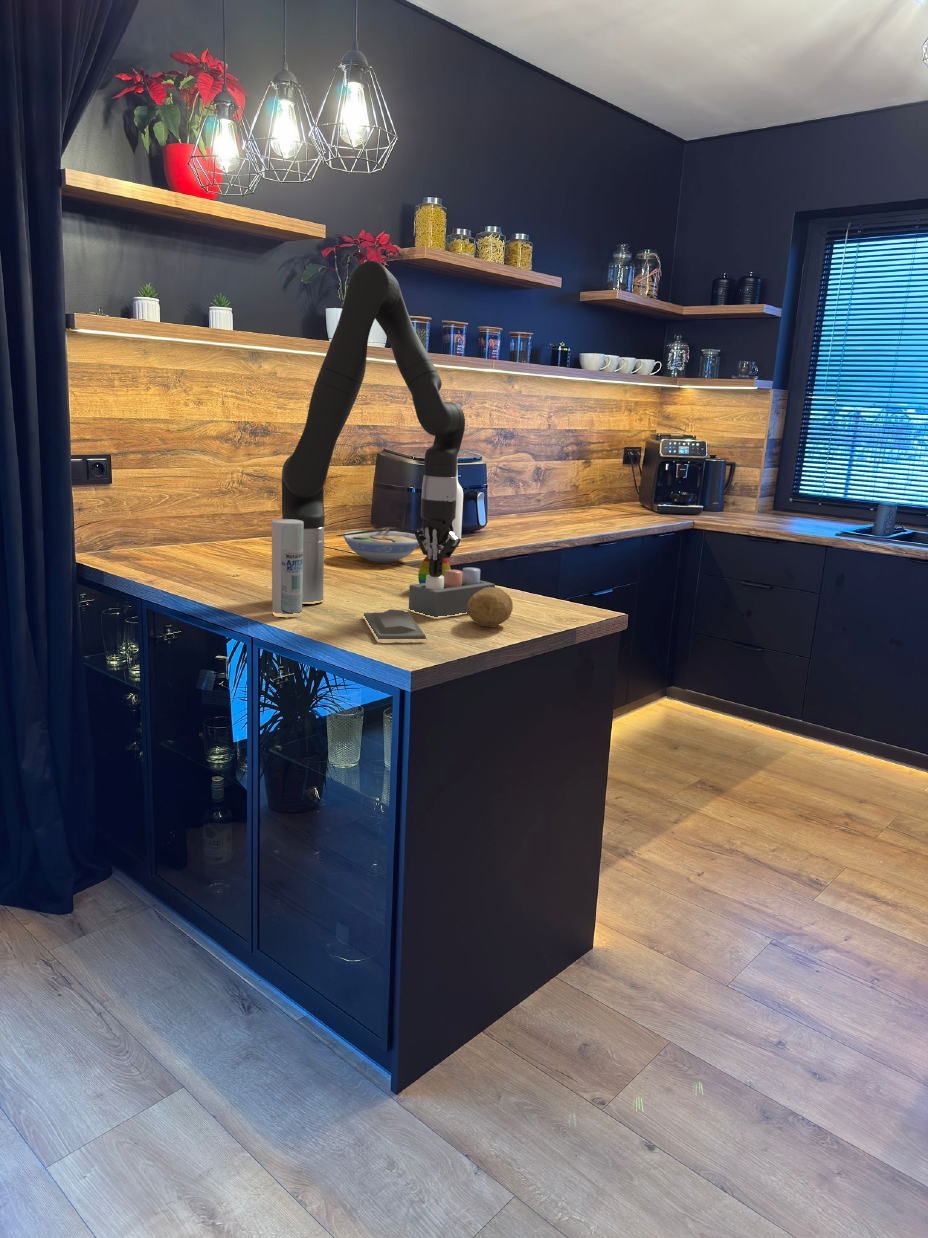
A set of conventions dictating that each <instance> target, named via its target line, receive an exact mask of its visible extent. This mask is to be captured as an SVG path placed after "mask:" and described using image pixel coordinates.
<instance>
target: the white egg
mask: <svg viewBox="0 0 928 1238" xmlns="http://www.w3.org/2000/svg"><path fill="white" fill-rule="evenodd" d="M426 588H428V589H432V590H438V589H444V576H442V575H441V576H440V577H433V576H430V575H426Z"/></svg>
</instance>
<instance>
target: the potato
mask: <svg viewBox="0 0 928 1238" xmlns="http://www.w3.org/2000/svg"><path fill="white" fill-rule="evenodd" d="M513 605H514V604H513V600H512V597H511V596H510V595H509V594H508V592H506V591H504V590H503V589H502V588H499V587H496V586H495V587H487V588H484V589H482V590H480V591H478V592H477V593H475V594H474V595H473V596H472V597H471V598H470V599H469V601H468V603H467V605H466V608H467V613H468V614H467V615H468V616H469V617H470V619H471V620H472V621H473V622H474V623H477V624H479V625H480V626H482V627H494V626H496V627H498V626H500V625H501V624H502V623H505V622H506V621H507V620H509V618H510V616H511V615H512V611H513V608H514V607H513ZM499 624H500V625H499ZM497 625H498V626H497Z"/></svg>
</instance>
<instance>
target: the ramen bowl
mask: <svg viewBox="0 0 928 1238" xmlns="http://www.w3.org/2000/svg"><path fill="white" fill-rule="evenodd" d="M397 530H398V528H397V527H396V526H395V527H393V526H387V527H380V528H375V529H367V530H354V531H349V532H345V533H343V534H336V535H335V537H342V536H343V538H344V542H346V544H347V545H348V547H349V548H350V549H351V551H352V552H354V553H355V554H356V555H358V556H359V557H361V558H363V559H366V560H368V561H369V562H372V563H376V564H392V563H394V562H396V561H398V560H402V559H404V558H407V557H408V556H410V555H411V554H412V553H413V552H414V551H415V550H416V548H417V547H418V546H419V543H418V541H417V539H416V536H415V533H410V532H403V531H397Z"/></svg>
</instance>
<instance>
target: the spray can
mask: <svg viewBox="0 0 928 1238" xmlns="http://www.w3.org/2000/svg"><path fill="white" fill-rule="evenodd" d="M303 530H304V522H303V521H301V520H294V519H282V518H278V519H273V520H271V612H272V611H273V612H275V613H282V614H293V613H300V612H302V613H303V605H302V586H303Z"/></svg>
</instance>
